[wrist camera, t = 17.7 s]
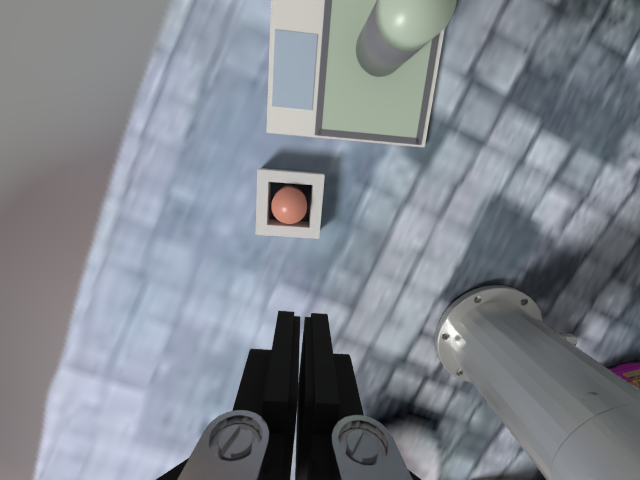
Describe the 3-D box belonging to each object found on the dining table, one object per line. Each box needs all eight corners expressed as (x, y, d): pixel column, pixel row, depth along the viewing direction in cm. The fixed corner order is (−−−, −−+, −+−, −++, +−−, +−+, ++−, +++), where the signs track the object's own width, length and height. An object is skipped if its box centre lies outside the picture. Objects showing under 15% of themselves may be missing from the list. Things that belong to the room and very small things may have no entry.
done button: (307, 186, 30) (308, 190, 27) (305, 218, 31) (305, 225, 28) (274, 184, 30) (272, 187, 27) (273, 216, 31) (270, 222, 28)
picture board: (453, -44, 26) (458, -51, 25) (421, 147, 30) (425, 147, 29) (274, -70, 25) (273, -79, 24) (267, 133, 29) (266, 132, 28)
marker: (409, 22, 26) (463, -43, 17) (401, 79, 27) (449, 44, 19) (358, 16, 26) (389, -53, 17) (353, 74, 27) (379, 36, 18)
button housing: (322, 173, 30) (324, 174, 28) (317, 232, 32) (319, 238, 29) (261, 167, 29) (257, 169, 27) (259, 228, 31) (255, 234, 29)
